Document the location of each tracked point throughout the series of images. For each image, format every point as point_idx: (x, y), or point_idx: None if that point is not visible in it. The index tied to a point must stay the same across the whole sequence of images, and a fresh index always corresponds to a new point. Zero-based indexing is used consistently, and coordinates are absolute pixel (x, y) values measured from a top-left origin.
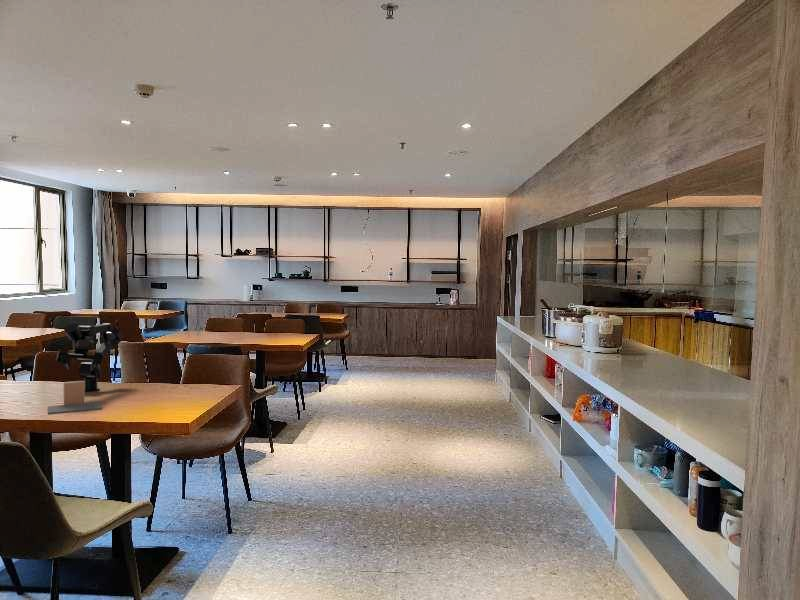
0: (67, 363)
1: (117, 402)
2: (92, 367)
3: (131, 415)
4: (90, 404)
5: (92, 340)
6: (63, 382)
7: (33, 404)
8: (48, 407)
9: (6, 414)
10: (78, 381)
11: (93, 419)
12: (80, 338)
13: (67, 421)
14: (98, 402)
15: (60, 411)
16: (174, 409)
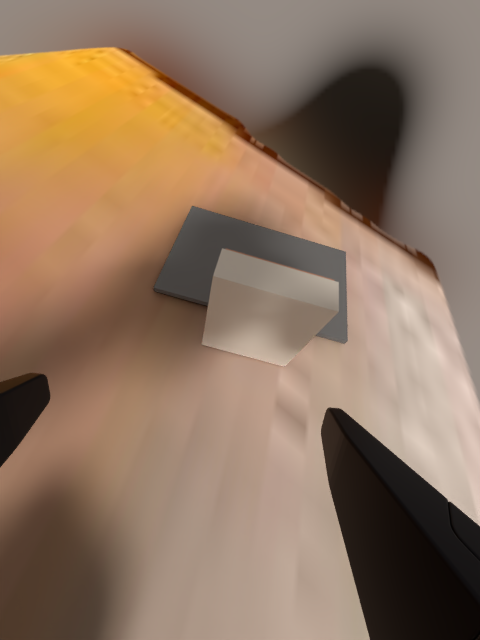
0: (421, 481)
1: (88, 264)
2: (1, 387)
3: (163, 127)
4: (205, 267)
5: None
6: (338, 299)
7: None
8: (344, 320)
9: (458, 340)
10: (252, 271)
11: (250, 154)
12: None
13: (303, 175)
14: (165, 277)
15: (312, 242)
16: (38, 99)
